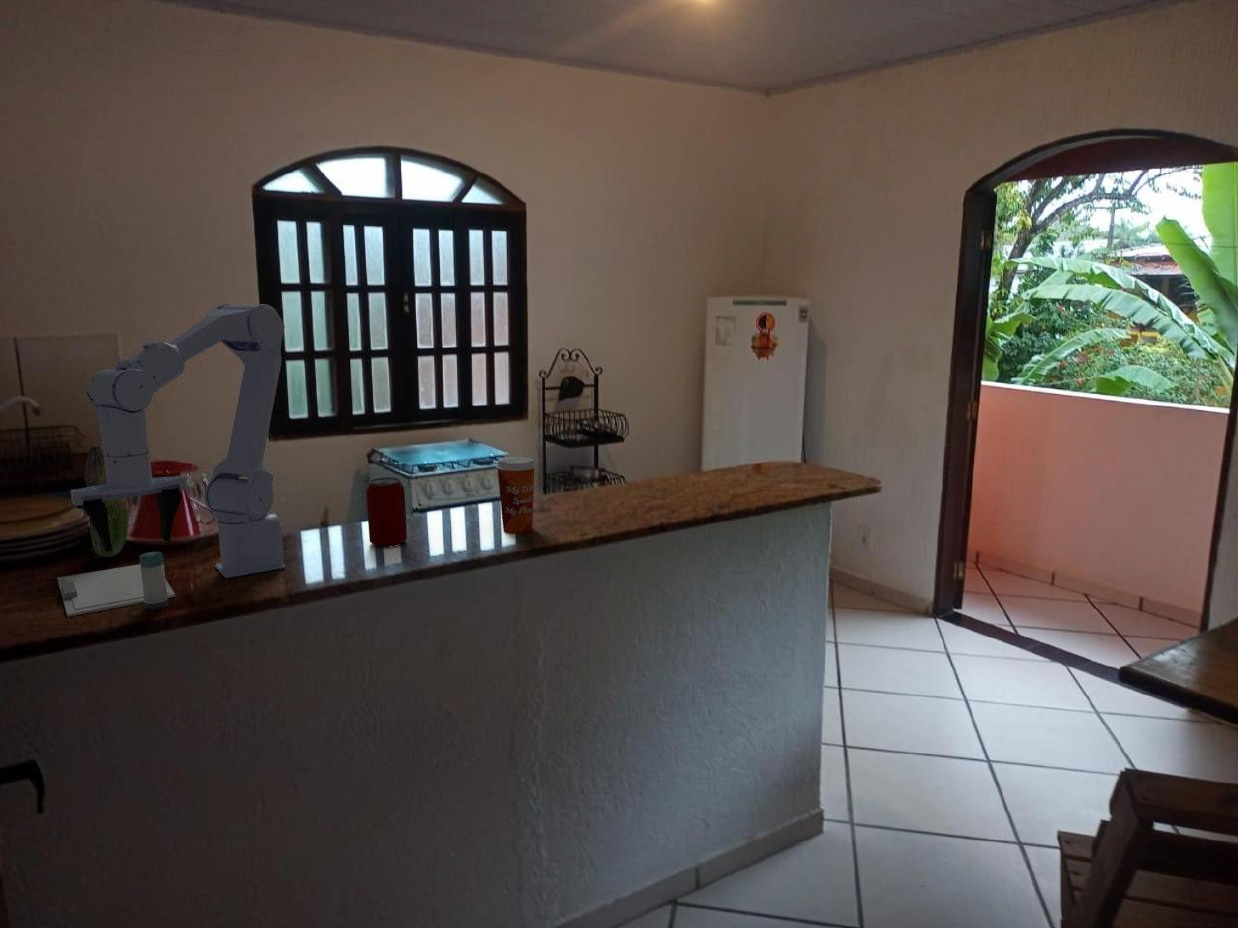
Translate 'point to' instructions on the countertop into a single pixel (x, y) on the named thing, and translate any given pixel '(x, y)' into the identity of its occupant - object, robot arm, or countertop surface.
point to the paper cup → (516, 493)
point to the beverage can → (386, 512)
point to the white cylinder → (153, 580)
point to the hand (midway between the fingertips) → (137, 544)
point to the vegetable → (106, 505)
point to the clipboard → (103, 590)
